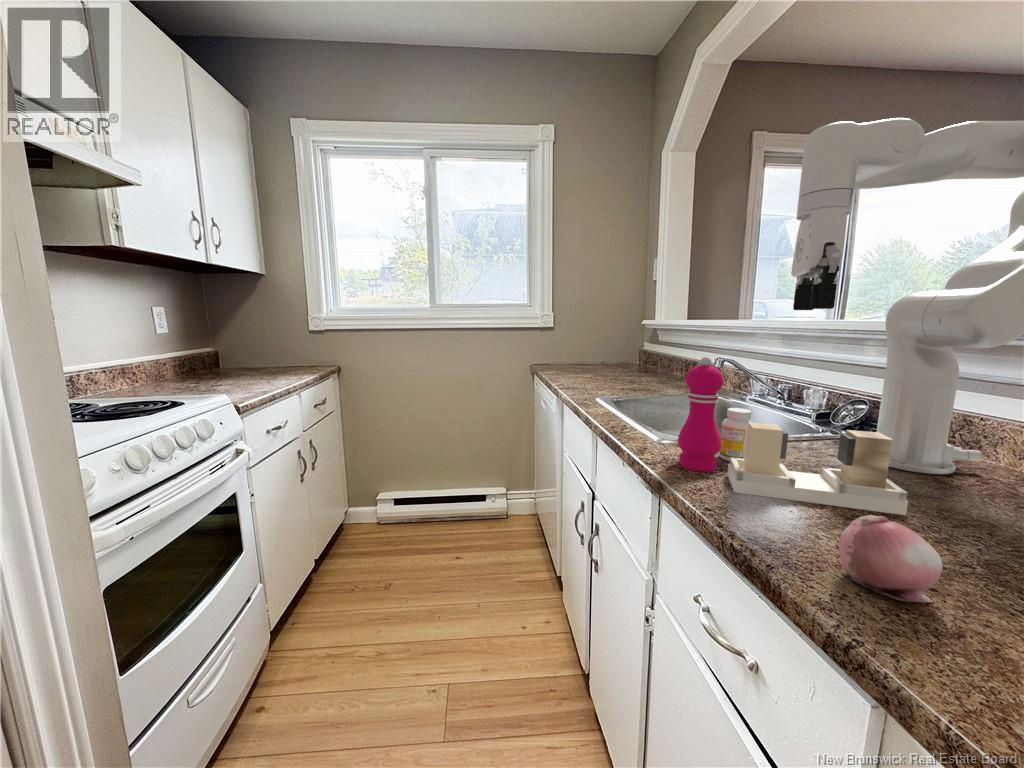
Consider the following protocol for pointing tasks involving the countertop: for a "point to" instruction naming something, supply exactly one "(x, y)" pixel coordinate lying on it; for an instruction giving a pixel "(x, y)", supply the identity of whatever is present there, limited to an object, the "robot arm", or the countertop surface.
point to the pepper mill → (701, 419)
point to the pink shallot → (889, 558)
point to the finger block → (864, 458)
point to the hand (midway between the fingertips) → (811, 309)
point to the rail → (802, 477)
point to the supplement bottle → (734, 433)
